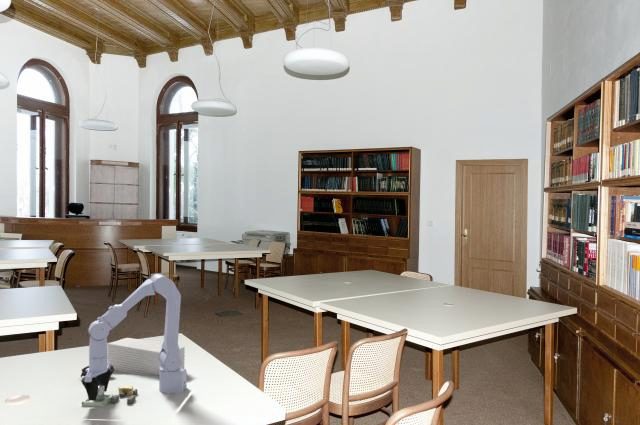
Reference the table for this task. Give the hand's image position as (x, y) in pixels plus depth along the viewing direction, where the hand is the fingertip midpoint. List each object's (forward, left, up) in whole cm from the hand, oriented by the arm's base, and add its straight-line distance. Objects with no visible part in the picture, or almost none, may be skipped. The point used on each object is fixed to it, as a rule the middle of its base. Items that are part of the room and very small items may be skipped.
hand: (97, 395), depth 166 cm
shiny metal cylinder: (0, 0, -2) cm, 2 cm away
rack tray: (0, 0, -2) cm, 2 cm away
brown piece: (+11, -23, -4) cm, 26 cm away
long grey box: (-2, -37, -4) cm, 37 cm away
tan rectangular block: (-7, -7, -2) cm, 10 cm away
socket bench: (-4, -4, -3) cm, 7 cm away
